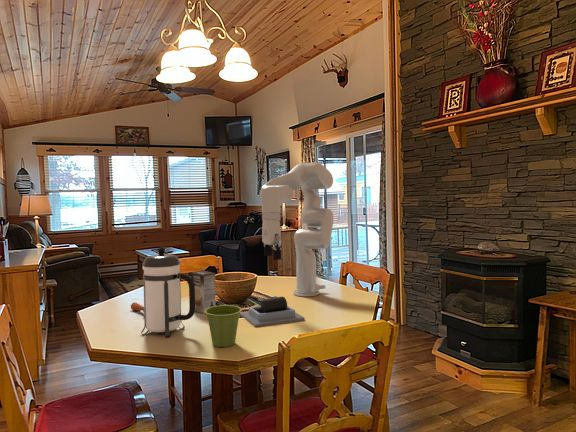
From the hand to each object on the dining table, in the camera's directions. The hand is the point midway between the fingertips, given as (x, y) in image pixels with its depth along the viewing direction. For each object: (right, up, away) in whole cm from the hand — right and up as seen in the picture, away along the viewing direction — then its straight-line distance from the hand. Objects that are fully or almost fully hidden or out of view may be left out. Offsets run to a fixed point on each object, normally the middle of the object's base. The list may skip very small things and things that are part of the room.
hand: (272, 257), depth 180 cm
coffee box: (-29, -23, +2) cm, 37 cm away
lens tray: (0, -23, -9) cm, 24 cm away
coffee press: (-36, -24, -26) cm, 51 cm away
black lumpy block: (0, -22, -9) cm, 24 cm away
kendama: (-52, -23, -2) cm, 57 cm away
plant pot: (-14, -24, -39) cm, 48 cm away
